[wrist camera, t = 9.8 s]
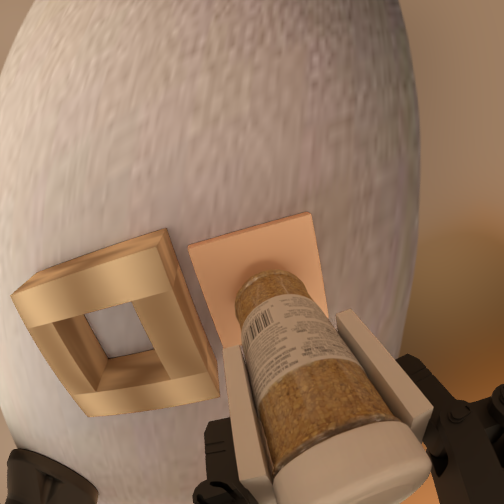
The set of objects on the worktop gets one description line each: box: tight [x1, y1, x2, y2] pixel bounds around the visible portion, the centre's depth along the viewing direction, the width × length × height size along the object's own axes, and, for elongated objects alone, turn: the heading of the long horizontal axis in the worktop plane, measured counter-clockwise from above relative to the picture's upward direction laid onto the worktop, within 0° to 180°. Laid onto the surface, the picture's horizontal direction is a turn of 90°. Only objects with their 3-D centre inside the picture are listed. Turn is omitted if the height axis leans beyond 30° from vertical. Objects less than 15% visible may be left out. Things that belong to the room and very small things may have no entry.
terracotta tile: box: [188, 212, 329, 348], centre depth 20 cm, size 8×8×1 cm
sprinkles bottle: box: [235, 269, 432, 504], centre depth 12 cm, size 5×5×14 cm
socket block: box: [10, 228, 220, 417], centre depth 18 cm, size 11×11×4 cm
